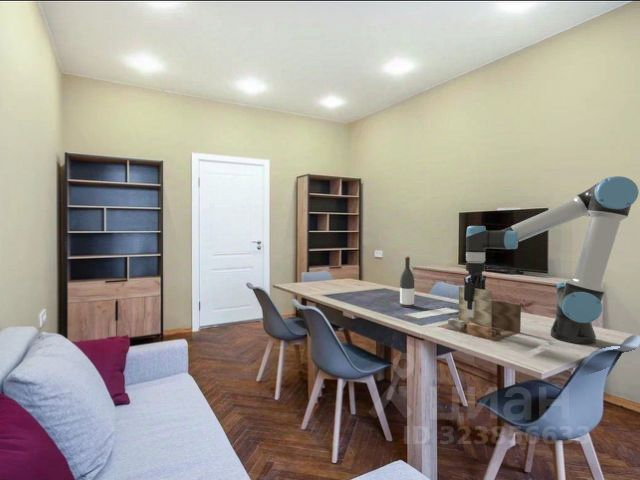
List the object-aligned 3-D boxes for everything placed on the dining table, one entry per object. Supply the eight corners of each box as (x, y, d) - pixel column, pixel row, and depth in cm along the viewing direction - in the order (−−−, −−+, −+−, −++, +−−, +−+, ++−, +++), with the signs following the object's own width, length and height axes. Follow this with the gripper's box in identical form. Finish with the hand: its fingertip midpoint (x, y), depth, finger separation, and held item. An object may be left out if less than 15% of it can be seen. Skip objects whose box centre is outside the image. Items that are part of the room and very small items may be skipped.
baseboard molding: (401, 316, 182) (418, 321, 171) (401, 310, 182) (419, 315, 171) (442, 309, 197) (460, 313, 187) (442, 304, 197) (460, 308, 187)
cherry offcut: (491, 337, 139) (492, 327, 139) (487, 338, 137) (488, 328, 137) (470, 331, 146) (471, 322, 146) (466, 333, 144) (467, 323, 144)
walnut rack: (520, 336, 146) (520, 304, 145) (494, 345, 133) (495, 310, 133) (463, 322, 167) (463, 294, 166) (436, 329, 154) (437, 299, 154)
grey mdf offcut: (464, 330, 148) (464, 321, 148) (460, 331, 147) (460, 322, 147) (451, 327, 153) (451, 318, 153) (447, 328, 152) (447, 319, 151)
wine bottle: (399, 306, 200) (400, 255, 199) (400, 304, 208) (400, 254, 207) (413, 307, 198) (414, 255, 197) (414, 304, 206) (414, 254, 205)
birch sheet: (491, 334, 143) (492, 290, 143) (489, 334, 142) (490, 291, 142) (460, 326, 155) (461, 286, 154) (458, 326, 154) (459, 286, 153)
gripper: (478, 260, 156) (477, 311, 157) (455, 262, 145) (454, 317, 146) (495, 261, 150) (494, 314, 151) (471, 263, 139) (470, 321, 140)
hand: (474, 315), depth 148 cm, fingers open, 5 cm apart
